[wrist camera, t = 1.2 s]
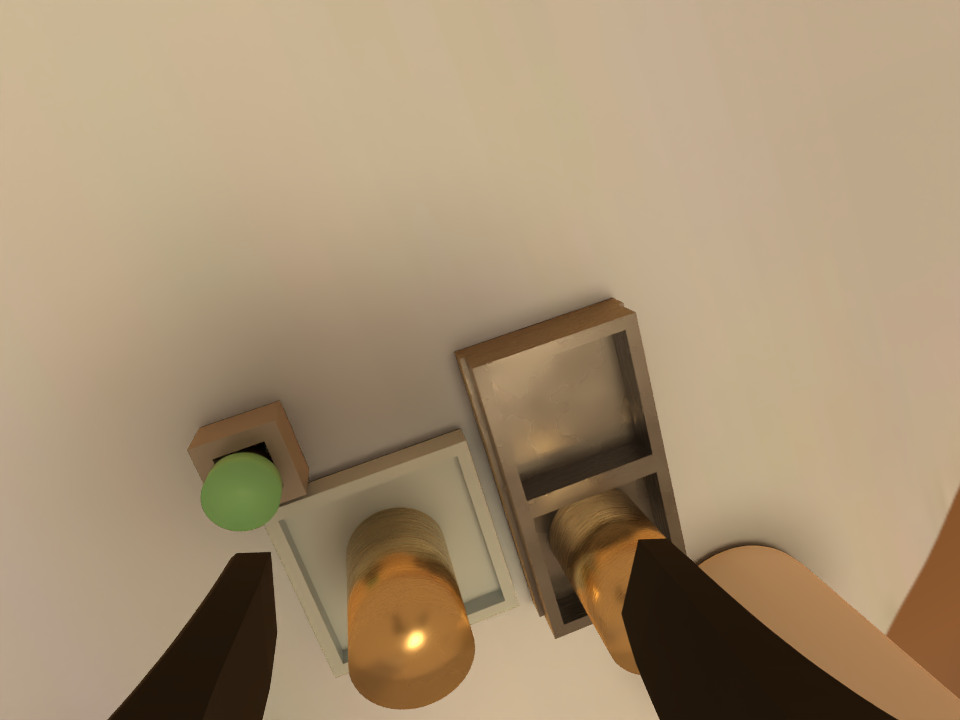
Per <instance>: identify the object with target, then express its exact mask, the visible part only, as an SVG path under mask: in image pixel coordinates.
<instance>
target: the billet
mask: <svg viewBox="0 0 960 720" xmlns="http://www.w3.org/2000/svg"><path fill="white" fill-rule="evenodd" d="M346 565H347V620H348V669H349V674H350V677H351V680H352V682H353V684H354V686H355V688H356V689H357V690H358V691H359V693H361V694H362V695H363V696H364V697H365V698H366V699H368V700H369V701H371V702H373V703H375V704H377V705H380V706H383V707H386V708H391V709H413V708H419V707H423V706H426V705H429V704H432V703H434V702H436V701H438V700H440V699H442V698H443V697H445V696H447V695H448V694H449V693H451V692H452V691H453V690H454V689H455V688H456V687H458V686H459V684H460V683H461V682H462V681H463V680H464V678H465V677H466V675H467V674H468V672H469V670H470V668H471V665H472V662H473V659H474V654H475V643H474V637H473V634H472V630H471V627H470V623H469V620H468V617H467V613H466V610H465V606H464V603H463V599H462V596H461V593H460V589H459V586H458V582H457V579H456V575H455V572H454V568H453V565H452V562H451V558H450V555H449V551H448V548H447V544H446V541H445V537H444V534H443V532H442V530H441V528H440V526H439V525H438V524H437V523H436V521H435V520H434V519H432V518H431V517H430V516H429V515H427V514H425V513H423V512H421V511H419V510H416V509H412V508H404V507H398V508H390V509H385V510H382V511H379V512H377V513H375V514H373V515H371V516H370V517H368V518H367V519H365V520H364V521H363V522H362V523H361V524H360V525H359V526H358V527H357V528H356V529H355V531H354V532H353V534H352V535H351V538H350V540H349V542H348V546H347V552H346Z"/></svg>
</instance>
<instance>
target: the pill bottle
mask: <svg viewBox="0 0 960 720" xmlns="http://www.w3.org/2000/svg"><path fill="white" fill-rule="evenodd" d="M698 567H699V568H701V569H702V570H703V571H704V572H705V573H706V574H707V575H708V576H709V577H710V578H712V579H713V580H714V581H715V582H716V583H717V584H718V585H719V586H720V587H722V588H723V589H724V590H725V591H726V592H727V593H728V594H729V595H731V596H732V597H733V598H734V599H735V600H736V601H737V602H739V603H740V604H741V605H742V606H743V607H744V608H745V609H747V610H748V611H749V612H750V613H751V614H752V615H754V616H755V617H756V618H757V619H758V620H760V621H761V622H762V623H763V624H764V625H766V626H767V627H768V628H769V629H770V630H772V631H773V632H774V633H775V634H777V635H778V636H779V637H780V638H782V639H783V640H784V641H785V642H787V643H788V644H789V645H791V646H792V647H793V648H794V649H796V650H797V651H798V652H799V653H801V654H802V655H803V656H805V657H806V658H807V659H809V660H810V661H811V662H813V663H814V664H815V665H817V666H818V667H819V668H821V669H822V670H824V671H825V672H827V673H828V674H829V675H831V676H832V677H834V678H835V679H837V680H838V681H839V682H841V683H842V684H844V685H845V686H847V687H848V688H849V689H851V690H852V691H854V692H855V693H857V694H858V695H860V696H861V697H863V698H864V699H866V700H867V701H869V702H871V703H872V704H874V705H875V706H877V707H878V708H880V709H881V710H883V711H885V712H886V713H888V714H890V715H891V716H893V717H895V718H896V719H898V720H960V699H959V698H957V697H956V696H955V695H954V694H952V693H951V692H950V691H949V690H948V689H947V688H946V687H945V686H943V685H942V684H941V683H940V682H939V681H938V680H936V679H935V678H934V677H933V676H932V675H931V674H930V673H928V672H927V671H926V670H925V669H924V668H922V667H921V666H920V665H919V664H918V663H917V662H915V661H914V660H913V659H912V658H911V657H910V656H909V655H907V654H906V653H905V652H904V651H903V650H902V649H900V648H899V647H898V646H897V645H896V644H895V643H893V642H892V641H891V640H890V639H889V638H888V637H887V636H885V635H884V634H883V633H882V632H881V631H880V630H878V629H877V628H876V627H875V626H874V625H873V624H871V623H870V622H869V621H868V620H867V619H866V618H865V617H863V616H862V615H861V614H860V613H859V612H858V611H856V610H855V609H854V608H853V607H852V606H851V605H849V604H848V603H847V602H846V601H845V600H844V599H842V598H841V597H840V596H839V595H838V594H837V593H836V592H834V591H833V590H832V589H831V588H830V587H829V586H827V585H826V584H825V583H824V582H823V581H822V580H820V579H819V578H818V577H817V576H816V575H815V574H813V573H812V572H811V571H810V570H809V569H808V568H807V567H805V566H804V565H803V564H802V563H800V562H799V561H797V560H796V559H794V558H793V557H791V556H790V555H788V554H786V553H784V552H782V551H780V550H777V549H774V548H770V547H765V546H741V547H736V548H732V549H729V550H726V551H723V552H721V553H718V554H716V555H714V556H712V557H711V558H709V559H707V560H706V561H704V562H703V563H701V564H700V565H699V566H698Z"/></svg>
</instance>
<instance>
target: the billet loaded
mask: <svg viewBox="0 0 960 720" xmlns="http://www.w3.org/2000/svg"><path fill="white" fill-rule="evenodd" d="M549 538H550V546H551V549H552V552H553V554H554V555H555V557H556V559H557V561H558V563H559V564H560V566H561V568H562V570H563V571H564V573H565V575H566V577H567V578H568V580H569V582H570V584H571V586H572V587H573V589H574V591H575V593H576V594H577V596H578V598H579V600H580V601H581V603H582V605H583V607H584V608H585V610H586V612H587V614H588V616H589V617H590V619H591V621H592V623H593V624H594V626H595V628H596V630H597V631H598V633H599V635H600V637H601V639H602V640H603V642H604V644H605V646H606V647H607V649H608V651H609V653H610V654H611V656H612V658H613V659H614V661H615V662H616V663H617V664H618V665H619V666H620V667H622V668H623V669H625V670H627V671H629V672H631V673H635V674H638V675H640V672H639V670H638V668H637V665H636V662H635V659H634V656H633V653H632V650H631V646H630V643H629V640H628V636H627V633H626V629H625V625H624V622H623V618H622V615H621V613H622V608H623V604H624V600H625V595H626V591H627V587H628V582H629V578H630V574H631V569H632V565H633V561H634V556H635V552H636V548H637V543H638V539H663V538H666V537H665V536H664V535H663V534H662V533H661V532H660V531H659V530H658V528H657V527H656V526H655V525H654V524H653V523H652V522H651V521H650V520H649V518H648V517H647V516H646V515H645V514H644V513H643V512H642V511H641V510H640V508H639V507H638V506H637V505H636V504H635V503H634V502H633V501H632V500H631V499H630V498H629V497H628V496H627V495H626V494H625V493H623V492H621V491H619V490H617V489H614V488H613V489H610V490H608V491H605V492H602V493H600V494H597V495H594V496H592V497H589V498H586V499H584V500H581V501H578V502H576V503H573V504H571V505H568V506H565V507H563V508H560V509H559V510H558V512H557V513H556V515H555V517H554V519H553V521H552V524H551V528H550V535H549Z"/></svg>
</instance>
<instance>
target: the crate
mask: <svg viewBox="0 0 960 720" xmlns="http://www.w3.org/2000/svg"><path fill="white" fill-rule="evenodd" d="M455 355H456V358H457V361H458V364H459V367H460V371H461V374H462V377H463V380H464V383H465V387H466V390H467V393H468V396H469V399H470V402H471V406H472V409H473V412H474V415H475V418H476V422H477V425H478V428H479V431H480V434H481V437H482V441H483V444H484V447H485V450H486V453H487V457H488V460H489V463H490V466H491V469H492V472H493V476H494V479H495V482H496V485H497V488H498V492H499V495H500V498H501V501H502V504H503V507H504V511H505V514H506V517H507V520H508V523H509V527H510V530H511V533H512V536H513V539H514V542H515V546H516V549H517V552H518V555H519V558H520V562H521V565H522V568H523V571H524V574H525V577H526V581H527V584H528V587H529V590H530V593H531V597H532V600H533V603H534V605H535V607H536V609H537V611H538V614H539V616H540V617H541V616H543V615H544V616H545V618H546V620H547V622H548V624H549V626H550V629H551V631H552V633H553V635H554V637H555V639H556V638H559V637H561V636H564V635H566V634H569V633H571V632H574V631H576V630H579V629H581V628H584V627H586V626H589V625H591V624H593V623H592V621H591V619H590V617H589V616H588V614H587V612H586V610H585V608H584V607H583V605H582V603H581V601H580V600H579V598H578V596H577V594H576V593H575V591H574V589H573V587H572V586H571V584H570V582H569V580H568V578H567V577H566V575H565V573H564V571H563V570H562V568H561V566H560V564H559V563H558V561H557V559H556V557H555V555H554V554H553V552H552V549H551V546H550V538H549V535H550V528H551V524H552V521H553V519H554V517H555V515H556V513H557V512H558V510H559V509H560V508H563V507H565V506H568V505H571V504H573V503H576V502H578V501H581V500H584V499H586V498H589V497H592V496H594V495H597V494H600V493H602V492H605V491H608V490H610V489H613V488H614V489H617V490H619V491H621V492H623V493H625V494H626V495H627V496H628V497H629V498H630V499H631V500H632V501H633V502H634V503H635V504H636V505H637V506H638V507H639V508H640V510H641V511H642V512H643V513H644V514H645V515H646V516H647V517H648V518H649V520H650V521H651V522H652V523H653V524H654V525H655V526H656V527H657V528H658V530H659V531H660V532H661V533H662V534H663V535H664V536H665V537H666V538H667V539H668V540H669V541H670V542H672V543H673V544H674V545H675V546H676V547H677V548H678V549H680V550H681V551H682V552H683V553H684V554H685V555H686V550H685V545H684V540H683V536H682V531H681V526H680V521H679V517H678V512H677V507H676V502H675V498H674V493H673V488H672V483H671V478H670V474H669V469H668V464H667V459H666V455H665V450H664V445H663V440H662V436H661V431H660V426H659V421H658V416H657V412H656V407H655V402H654V397H653V393H652V388H651V383H650V378H649V374H648V369H647V364H646V359H645V354H644V350H643V345H642V340H641V335H640V331H639V326H638V321H637V316H636V312H634V311H632V310H629V309H627V308H625V307H624V304H623V302H620V301H618V300H616V299H614V298H611V299H608V300H605V301H603V302H600V303H597V304H594V305H591V306H588V307H585V308H582V309H579V310H576V311H573V312H570V313H567V314H564V315H561V316H559V317H556V318H553V319H550V320H547V321H544V322H541V323H538V324H535V325H532V326H529V327H526V328H523V329H520V330H518V331H515V332H512V333H509V334H506V335H503V336H500V337H497V338H494V339H491V340H488V341H485V342H482V343H479V344H476V345H474V346H471V347H468V348H465V349H462V350H459V351H456V352H455ZM686 556H687V555H686Z"/></svg>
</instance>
